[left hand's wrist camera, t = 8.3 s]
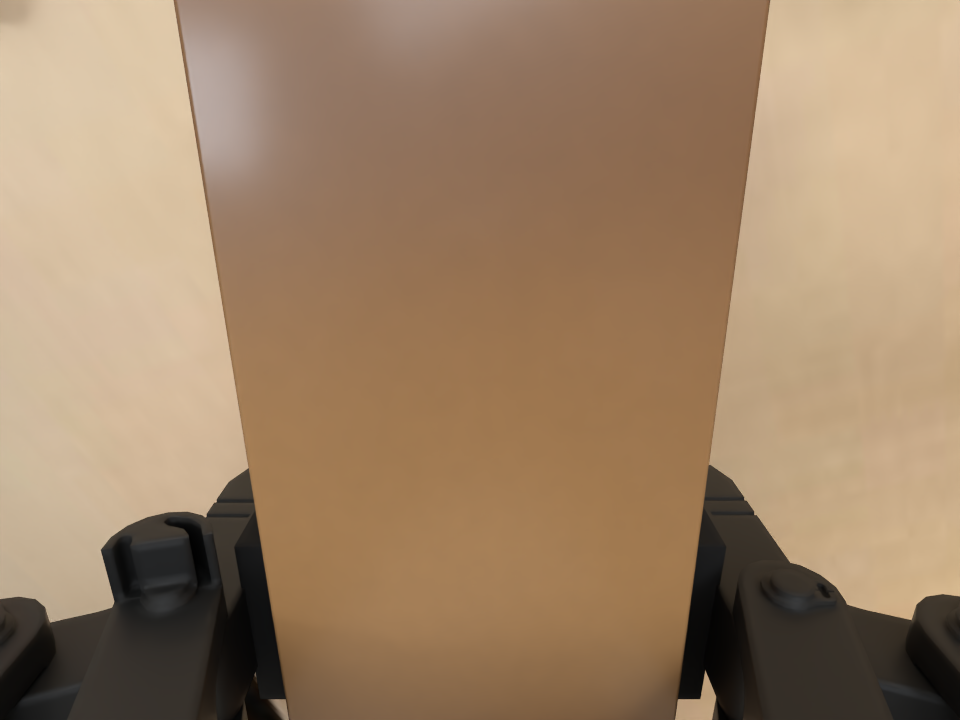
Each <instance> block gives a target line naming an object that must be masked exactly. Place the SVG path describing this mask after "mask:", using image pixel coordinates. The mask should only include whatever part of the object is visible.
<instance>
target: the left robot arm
mask: <svg viewBox="0 0 960 720" xmlns="http://www.w3.org/2000/svg"><path fill="white" fill-rule="evenodd" d="M101 552H102V556H103V560H104V563H105V567H106V571H107V575H108V578H109V582H110V586H111V590H112V593H113V597H114V601H115V602H114V605H113V607H112V608H110V609H107V610H103V611H100V612H96V613H92V614H87V615H83V616H78V617H74V618H69V619H65V620H60V621H56V622H51V623H50V622H49V619H48V616H47V613H46V609H45V607H44V606H43V605H42V604H40V603H39V602H38V601H37V600H36V599H29V598H23V597H14V598H6V599H0V720H247V713H246V707H245V702H244V699H245V696H246V694H247V692H248V689H249V687H250V684H251V682H252V679H253V677H254V674H255V672H256V677H257V683H258V689H259V694H260V699H286V697H285V691H284V684H283V678H282V672H281V666H280V660H279V653H278V647H277V641H276V635H275V628H274V622H273V616H272V610H271V603H270V597H269V591H268V585H267V579H266V572H265V566H264V560H263V554H262V547H261V541H260V535H259V529H258V522H257V516H256V510H255V504H254V498H253V491H252V485H251V479H250V473H249V468H248V469H247V470H245V471H244V472H243V473H241V474H240V475H238V476H237V477H235V478H234V479H233V480H231V481H230V482H229V483H228V484H227V486H226V487H225V488H224V490H223V491H222V493H221V494H220V496H219V497H218V498H217V503H214V504H213V506H212V507H211V508H210V510H209V511H208V513H207V517H206V518H205V517H204V516H202V515H198V514H194V513H190V512H168V513H164V514H160V515H155V516H151V517H147V518H145V519H142V520H140V521H138V522H135V523H133V524H131V525H128V526H127V527H125V528H124V529H122V530H121V531H119V532H118V533H116V534H115V535H114V536H112V537H111V538H110V539H109V540H108V542H107V543H106V544H105V545H104V547H103V548H102V549H101ZM705 670H706V672H707V675H708V677H709V680H710V682H711V685H712V687H713V690H714V692H715V694H716V702H715V707H714V713H713V718H712V720H960V597H959V596H952V595H944V594H942V595H935V596H928V597H925V598H924V599H923V600H922V601H920V602H919V603H918V604H917V605H916V608H915V612H914V615H913V618H912V620H908V619H903V618H899V617H894V616H890V615H885V614H881V613H876V612H872V611H867V610H863V609H860V608H856V607H853V606H849V605H847V604H846V601H845V600H844V598H843V597H842V595H841V594H840V592H839V591H838V590H837V588H836V587H835V586H834V585H832V584H831V583H830V582H829V581H827V580H826V579H825V578H824V577H822V576H821V575H819V574H817V573H815V572H813V571H811V570H809V569H807V568H805V567H803V566H800V565H796V564H793V563H790V562H789V561H788V559H787V558H786V556H785V555H784V553H783V552H782V551H781V549H780V548H779V546H778V545H777V543H776V542H775V541H774V539H773V538H772V536H771V535H770V533H769V532H768V531H767V529H766V528H765V526H764V525H763V524H762V522H761V521H760V519H759V518H758V516H757V515H754V511H753V509H752V508H751V506H750V505H749V504H748V502H747V501H744V496H743V495H742V494H741V492H740V491H739V489H738V488H737V486H736V485H735V484H734V482H733V481H732V480H731V479H730V478H728V477H727V476H725V475H724V474H723V473H721V472H720V471H718V470H717V469H715V468H714V467H712V466H711V465H709V466H708V474H707V482H706V489H705V497H704V504H703V512H702V519H701V527H700V535H699V542H698V550H697V557H696V565H695V572H694V580H693V588H692V595H691V603H690V610H689V618H688V625H687V633H686V641H685V648H684V656H683V663H682V671H681V678H680V686H679V694H678V699H700V697H701V692H702V686H703V680H704V674H705Z"/></svg>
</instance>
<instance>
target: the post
mask: <svg viewBox="0 0 960 720" xmlns="http://www.w3.org/2000/svg"><path fill="white" fill-rule="evenodd" d="M174 5H175V12H176V18H177V24H178V30H179V37H180V43H181V49H182V55H183V61H184V68H185V74H186V80H187V86H188V93H189V99H190V105H191V111H192V118H193V124H194V130H195V136H196V142H197V149H198V155H199V161H200V167H201V174H202V180H203V186H204V192H205V199H206V205H207V211H208V217H209V223H210V230H211V236H212V242H213V248H214V255H215V261H216V267H217V273H218V280H219V286H220V292H221V298H222V304H223V311H224V317H225V323H226V329H227V336H228V342H229V348H230V354H231V361H232V367H233V373H234V379H235V385H236V392H237V398H238V404H239V410H240V417H241V423H242V429H243V435H244V442H245V448H246V454H247V460H248V466H249V473H250V479H251V485H252V491H253V498H254V504H255V510H256V516H257V522H258V529H259V535H260V541H261V547H262V554H263V560H264V566H265V572H266V579H267V585H268V591H269V597H270V603H271V610H272V616H273V622H274V628H275V635H276V641H277V647H278V653H279V660H280V666H281V672H282V678H283V684H284V691H285V697H286V703H287V709H288V716H289V720H675V716H676V709H677V701H678V694H679V686H680V678H681V671H682V663H683V656H684V648H685V641H686V633H687V625H688V618H689V610H690V603H691V595H692V588H693V580H694V572H695V565H696V557H697V550H698V542H699V535H700V527H701V519H702V512H703V504H704V497H705V489H706V482H707V474H708V466H709V459H710V451H711V444H712V436H713V429H714V421H715V413H716V406H717V398H718V391H719V383H720V376H721V368H722V360H723V353H724V345H725V338H726V330H727V323H728V315H729V307H730V300H731V292H732V285H733V277H734V270H735V262H736V254H737V247H738V239H739V232H740V224H741V217H742V209H743V201H744V194H745V186H746V179H747V171H748V164H749V156H750V149H751V141H752V133H753V126H754V118H755V111H756V103H757V96H758V88H759V80H760V73H761V65H762V58H763V50H764V43H765V35H766V27H767V20H768V12H769V5H770V0H174Z"/></svg>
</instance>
